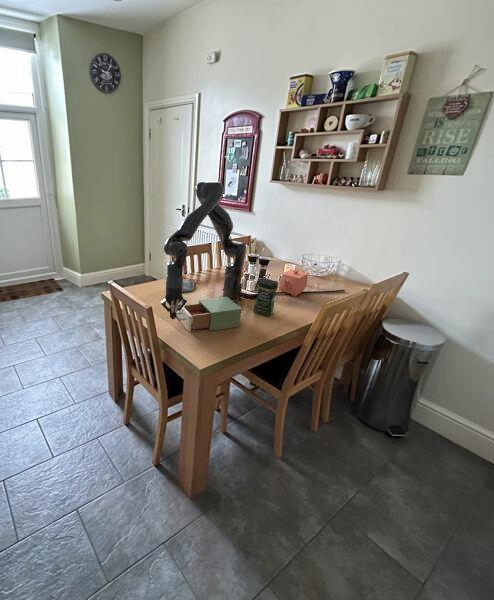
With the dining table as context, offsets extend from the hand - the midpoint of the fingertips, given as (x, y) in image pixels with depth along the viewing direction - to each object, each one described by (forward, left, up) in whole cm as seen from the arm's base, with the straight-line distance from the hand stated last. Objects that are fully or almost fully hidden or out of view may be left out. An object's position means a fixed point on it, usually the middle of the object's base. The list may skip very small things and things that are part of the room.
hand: (172, 318), depth 154 cm
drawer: (-11, 0, -4) cm, 11 cm away
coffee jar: (-52, -3, -5) cm, 52 cm away
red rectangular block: (-12, 0, -3) cm, 12 cm away
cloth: (-24, -46, -5) cm, 52 cm away
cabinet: (-24, 0, -5) cm, 24 cm away
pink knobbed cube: (-84, -22, -5) cm, 87 cm away
